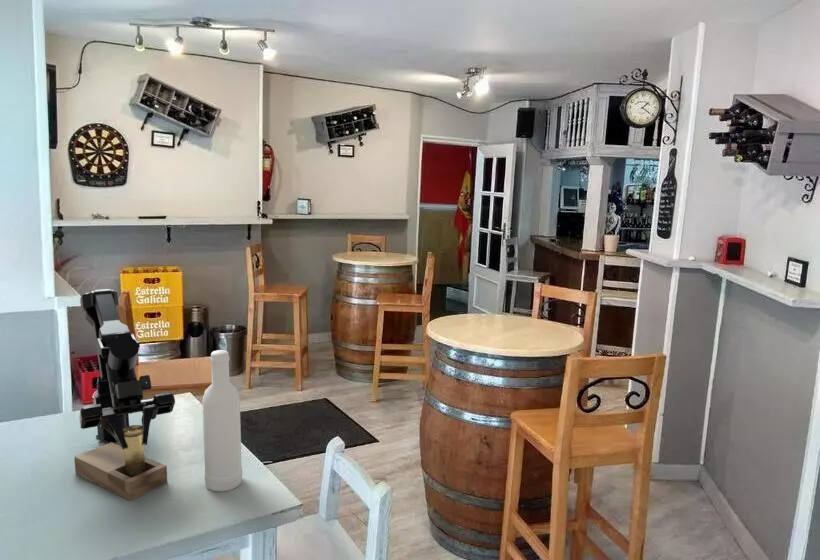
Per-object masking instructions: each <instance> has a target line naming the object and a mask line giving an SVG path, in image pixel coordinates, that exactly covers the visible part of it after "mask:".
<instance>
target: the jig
mask: <svg viewBox="0 0 820 560" xmlns="http://www.w3.org/2000/svg"><path fill="white" fill-rule="evenodd" d="M73 459H74V469H75V474H76V475H78V476H80V475H81V476H80V477H82V476H83V477H82V478H84V477H85V478H84V479H86V478H87V479H86V480H88V479H89V480H88V481H90V480H91V481H90V482H92V481H93V482H92V483H94V484H96V485H98V486H100V485H101V486H100V487H102V486H103V487H102V488H105V489H107V490H108V491H110V492H112V493H115V494H116V495H118V496H120V497H123V499H126V500H127V501H133V500H134V499H137V498H139V497H141V496H143V495H145V494H147V493H149V492H152V491H153V490H155V489H158V488H159V487H162V486H163V485H166V484H168V467H167V465H165V464H163V463H161V462H158V461H156V460H154V459H152V458H149V457H147V456H145V470H146V471H145V472H143V473H141V474H139V475H137V476H134V477H129V476H126V474H125V459H124V449H122V448H121V446H120V445H119V444H118V443H116V442H114V443H113V442H111V443H106V444H104V445H101V446H98V447H95V448H93V449H91V450H89V451H88V450H87V451H85V452H83V453H80V454H77V455H75V456H74V457H73Z"/></svg>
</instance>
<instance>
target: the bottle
mask: <svg viewBox="0 0 820 560" xmlns="http://www.w3.org/2000/svg"><path fill="white" fill-rule="evenodd" d="M229 354H230V353H229V352H228V350H224V349H217V350H213V351H212V352H211V353H210V363H211V365H210V367H211V368H210V369H211V384H210V385H209V386H208V387H207V388H206V389H205V390H204V393H203V396H202V402H201V403H202V425H203V427H202V430H203V431H202V432H203V450H204V452H203V453H204V454H203V455H204V456H203V457H204V481H205V487H206V489H208V490H210V491H213V492H228V491H232V490H234V489H236V488H238V486H240V485H241V484H242V482H243V466H242V431H241V429H242V428H241V398H240V397H241V396H240V394H239V392H238V389H237V387H236V386H234V385H233V384H232V383H231V382H230V358H231V357H230V355H229Z"/></svg>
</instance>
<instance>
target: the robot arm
mask: <svg viewBox="0 0 820 560" xmlns="http://www.w3.org/2000/svg"><path fill="white" fill-rule="evenodd" d="M79 299H80V300H79V301H80V310H81V312H84V317H85V320H86V321H87V322H88V323H89V324H90V325H91V327H92V328H93V333H94V340H95V346H96V354H97V361H98V366H99V374H100V381H99V383H98V385H97V386H96V392H95V395H94V396H93V404H92V405H86V406H82V407H81V409H80V411H79V426H80V429H82V430H85V429H90V428H96V427H97V428H96V429H97V434H96V435H95V438H96V439H98V440H100V441H103V442H105V443H106V444H108V443H111V442H113V443H117V444H118V445H120V446H121V448H122V449H125V443H124V438H123V429H124V428H125V427H128V426H130V419H129V414H130V415H132V414H134V413H135V414H136V413H140V412H141V413H142V415H141V426H143V428H144V432H143V433H144V446H146V445H147V444H148V441H149V440H148V439H149V432H150V426H151V422H152V420H154V419H156V418H157V416H159V415H165V414H170V413H172V412H173V409H174V406H175V404H176V399H175V395H174V393H172V392H171V391H169V392H161V393H156V394H154V396H153V399H152V400H148V401H143V402H142V400H143V399H144V391H145V392H146V391H150V390H151V389H152V382H151V381H152V380H151V376H150V374H146V375H140V377H138V378H137V373H136V368H135V366H136V364H137V359H138V355H139V351H140V347H141V344H140V341H139V340H138V339H137V338H136V337H135V335H134V333H132V332H131V331H130V328H129V326H128V325H127V324H125V323H122V322H121V319H120V317H119V312H118V307H120V306H119V305H120V304H119V303H120V302H119V295H118V292H117V291H114V289H110V288H105V289H104V288H102V289H94V290H93V291H90V292H85V293H84V294H81V296H80V298H79Z"/></svg>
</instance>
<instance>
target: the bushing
mask: <svg viewBox="0 0 820 560" xmlns="http://www.w3.org/2000/svg"><path fill="white" fill-rule="evenodd" d="M143 432H144V428H143V426H142V424H141V425H140V424H132V425H129V426H128V427H125V428H124V429H123V438H124V443H125V449H124V459H125V474H126V476H129V477H134V476H137V475H139V474H141V473H143V472H145V471H146V470H145V457H146V455H145V444H144V433H143Z"/></svg>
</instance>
